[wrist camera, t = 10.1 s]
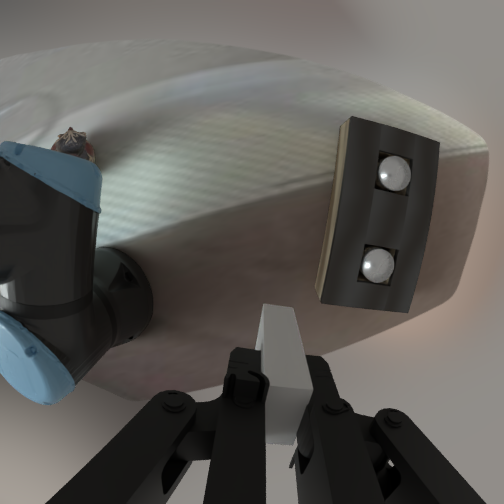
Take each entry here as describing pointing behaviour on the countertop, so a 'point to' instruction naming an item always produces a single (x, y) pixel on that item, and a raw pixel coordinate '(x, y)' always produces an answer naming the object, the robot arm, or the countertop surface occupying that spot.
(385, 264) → the steel peg
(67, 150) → the figurine
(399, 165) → the steel peg
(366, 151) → the block
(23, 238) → the robot arm
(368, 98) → the countertop surface
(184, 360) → the countertop surface
